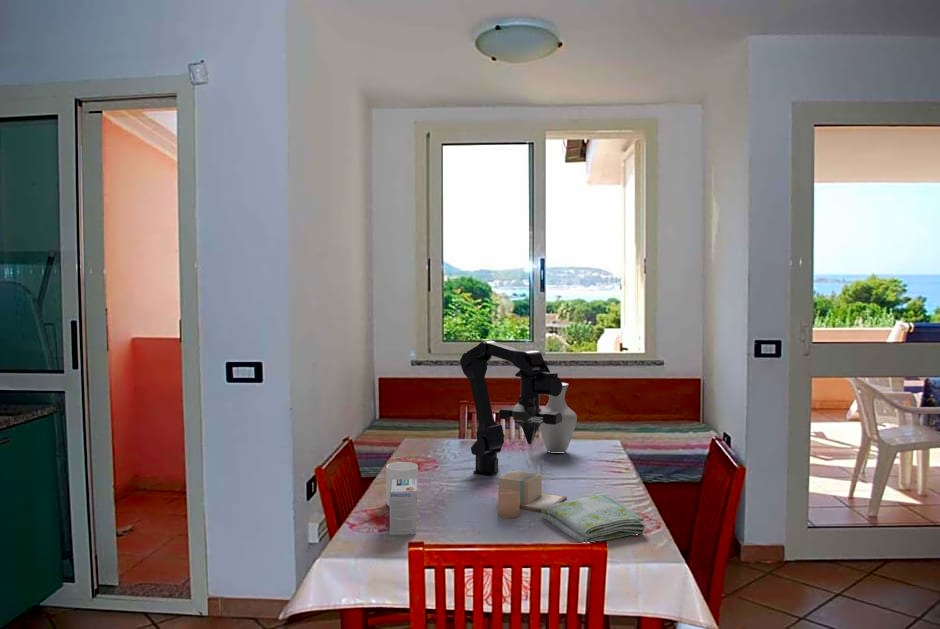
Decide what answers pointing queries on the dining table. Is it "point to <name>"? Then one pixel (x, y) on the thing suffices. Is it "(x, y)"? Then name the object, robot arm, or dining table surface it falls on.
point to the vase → (562, 432)
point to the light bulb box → (403, 507)
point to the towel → (594, 518)
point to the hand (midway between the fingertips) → (529, 444)
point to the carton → (522, 484)
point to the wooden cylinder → (509, 503)
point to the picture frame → (543, 502)
